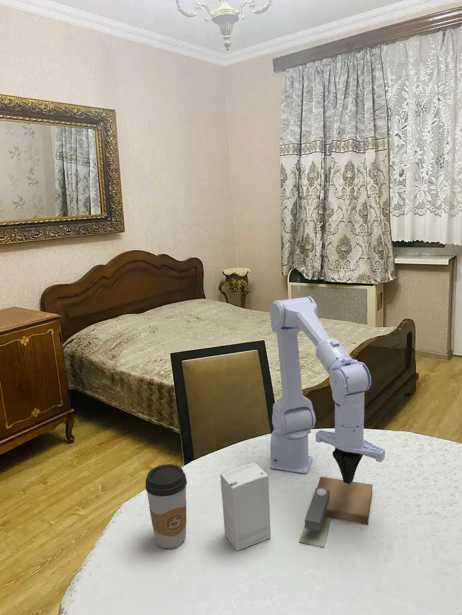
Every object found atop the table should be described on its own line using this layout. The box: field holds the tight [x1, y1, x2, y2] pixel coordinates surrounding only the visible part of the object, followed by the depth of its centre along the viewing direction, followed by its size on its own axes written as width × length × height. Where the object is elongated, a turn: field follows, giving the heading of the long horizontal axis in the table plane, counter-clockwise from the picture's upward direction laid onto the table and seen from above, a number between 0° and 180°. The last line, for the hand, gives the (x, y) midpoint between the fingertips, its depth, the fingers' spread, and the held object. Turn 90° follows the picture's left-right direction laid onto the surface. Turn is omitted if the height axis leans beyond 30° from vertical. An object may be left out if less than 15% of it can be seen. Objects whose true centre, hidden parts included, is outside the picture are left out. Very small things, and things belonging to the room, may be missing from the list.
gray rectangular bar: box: [304, 487, 330, 531], centre depth 104 cm, size 12×3×2 cm, turn 159°
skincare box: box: [219, 461, 272, 551], centre depth 99 cm, size 8×6×15 cm
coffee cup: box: [144, 463, 188, 549], centre depth 100 cm, size 8×8×15 cm
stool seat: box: [298, 476, 373, 549], centre depth 106 cm, size 12×22×2 cm, turn 160°
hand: (348, 481), depth 103 cm, fingers closed
